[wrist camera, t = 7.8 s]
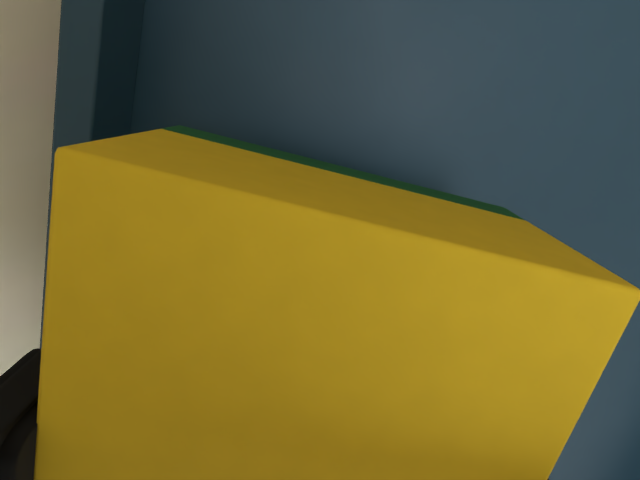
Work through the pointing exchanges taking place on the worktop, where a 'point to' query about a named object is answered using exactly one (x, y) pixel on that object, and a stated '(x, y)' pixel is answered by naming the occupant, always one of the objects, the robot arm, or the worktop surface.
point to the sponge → (303, 322)
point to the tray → (403, 119)
